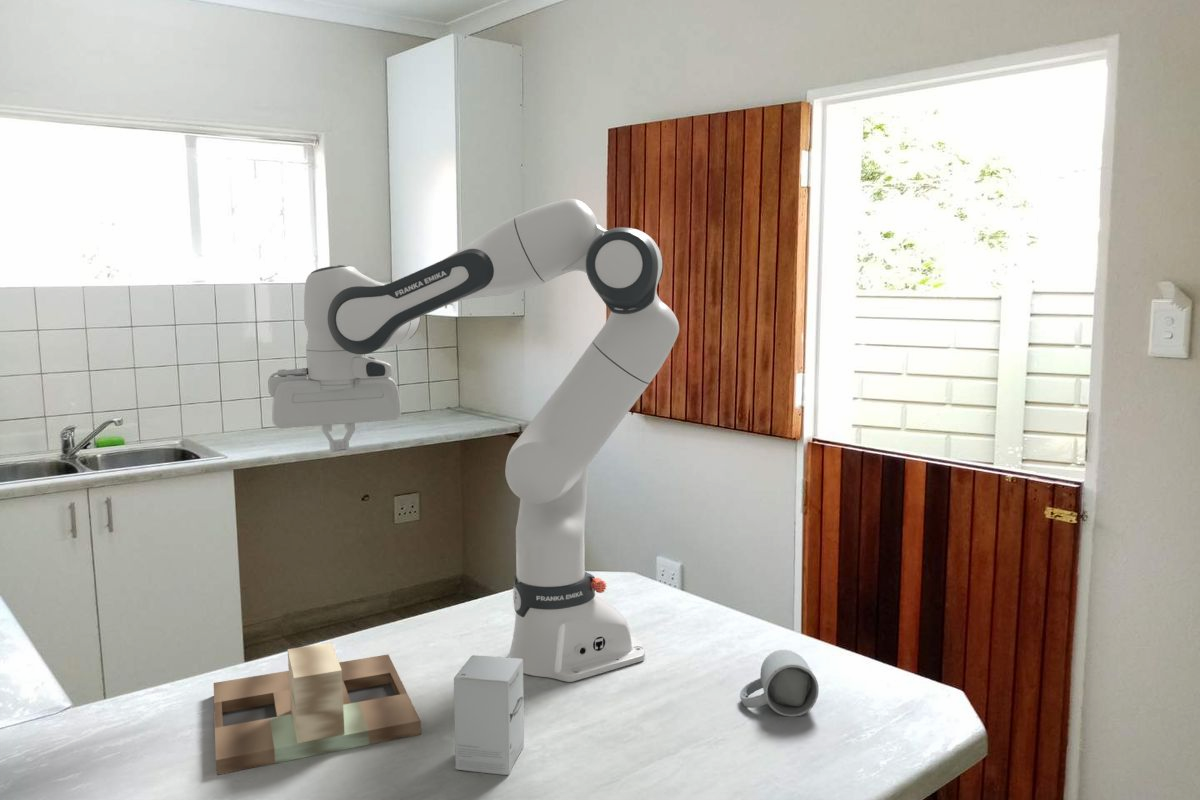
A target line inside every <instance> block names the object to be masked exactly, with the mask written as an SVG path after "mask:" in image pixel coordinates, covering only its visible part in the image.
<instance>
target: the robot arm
mask: <svg viewBox="0 0 1200 800" xmlns="http://www.w3.org/2000/svg"><path fill="white" fill-rule="evenodd" d="M663 258H664V257H663V255H662V252H661V249H660V248H659V246H658V244H657V243H656V242H655V240H654V239H653V238H652V237H651V236H650V235H648V234H647V233H645V232H644V231H642V230H640V229H637V228H633V227H632V228H631V227H621V226H620V227H619V226H618V227H613V228H610V229H605V228H604V227H603V226H601V224H600V223H599V221H598V219H597V217H596V215H595V213H594V212H593V211H592V209H591V208H590V207H589V206H588V205H587V204H586V203H584V202H583V201H582V200H579V199H577V198H565V199H561V200H557V201H553V202H550V203H546V204H543V205H540V206H537V207H534V208H532V209H529V210H527V211H525V212H522V213H520V214H517V215H515V216H512V217H511V218H509V219H507V220H505V221H503V222H501V223H500V224H498V225H496V226H495V227H493V228H491V229H489V230H488V231H486V232H485V233H483V234H481V235H480V236H478V237H477V238H476V239H474V240H472V241H471V242H470V243H468V244H467V245H465V246H463V247H461V248H460V249H459V250H456V251H455V252H454V253H452V254H451V255H449V256H447V257H445V258H444V259H442V260H439V261H437V262H436V263H435V262H434V263H433V264H430V265H428V266H426V267H424V268H422V269H419V270H417V271H414V272H413V273H410V274H408V275H405V276H403V277H401V278H399V279H396V280H394V281H392V282H391V281H390V282H389V283H383V282H380V281H378V280H375V279H373V278H371V277H369V276H367V275H365V274H363V273H362V272H360V271H359V270H358V269H357V268H356V267H354V266H353V265H349V264H339V265H334V266H333V265H332V266H330V265H329V266H326V267H321V268H318V269H317V268H316V269H315V270H313V271H311V272H310V273H309V274H308V275H307V277H306V280H305V284H304V294H303V295H304V296H303V315H304V316H303V317H304V318H303V319H304V320H303V321H304V325H305V329H306V330H307V331H306V332H307V341H306V347H305V356H306V367H305V368H304V367H303V368H293V369H285V368H284V369H278V370H277V371H276V372H274V373H272V374H271V375H270V376H269V378H268V380H267V384H268V385H267V387H268V393H269V395H270V396H271V398H272V405H271V409H272V410H271V418H272V419H271V420H272V424H273V425H274V426H275V427H276V428H278V429H289V428H303V427H317V426H318V427H319V426H321V431H322V432H323V434H324V436H325V437H326V438H327V440H328V442H329V443H328V444H329V451H330V452H331V453H335V452H337V453H338V452H349V451H350V440H351V438H352V437H353V435H354V433H355V431H356V424H361V423H373V422H375V423H376V422H389V421H391V422H392V421H398V419H399V418H400V417H401V415H402V406H401V405H402V404H401V397H400V392H399V387H398V384H397V383H396V381H395V380H394V379H393V378H391V376H392V374H393V367H392V365H391V364H390V363H389V362H387V361H384V360H380V359H376V358H375V357H373V356H364V355H367V354H371V353H374V352H376V351H378V350H382V349H386V348H390V347H393V346H398V345H401V344H403V343H405V342H407V341H409V339H411V338H412V337H414V335H416V332H417V331H418V329H419V328H420V324H421V317H423V316H426V315H428V314H430V313H432V312H434V311H436V310H440V309H441V308H444V307H446V306H448V305H451V304H454V303H457V302H460V301H465V300H470V299H477V298H479V299H480V298H487V297H488V298H489V297H499V296H501V297H502V296H507V295H512V294H515V293H519V292H523V291H526V290H529V289H533V288H535V287H537V286H540V285H543V284H544V283H546V282H549V281H552V280H554V279H556V278H558V277H560V276H562V275H564V274H567V273H571V272H575V271H576V272H577V271H579V272H583V273H586V275H587V279H588V281H589V283H590V285H591V286H592V288H593V289H594V291H595V292H596V293H597V295H598V296H599V297H600V298H601V300H602V301H603V302H604V304H605V306H607V308H608V310H609V311H610V312H609V316H608V318H607V320H606V322H605V323H604V325H603V327H602V328H601V329H600V331H599V332H598V333H597V335H596V336H595V337H594V339H592V341H591V343H590V344H589V345H588V347H587V348H586V349H585V351H584V352H583V354H581V357H580V358H579V359H578V361H576V363H575V364H574V366H573V367H572V369H571V370H570V371H569V372H568V374H567V376H566V377H565V378H564V379H563V380H562V382H561V384H560V385H559V386H557V388H556V389H555V391H554V392H553V393H552V395H551V396H550V397H549V398H548V400H547V401H546V402H544V405H543V406H542V407H541V408H540V410H538V412H537V413H536V415H535V416H534V417H533V419H532V420H531V421H530V423H529V424H528V425H527V426H526V428H524V430H523V432H522V433H521V434H520V436H519V437H518V438H517V440H516V441H515V442H514V444H513V445H512V446H511V448H510V450H509V451H508V455H507V458H506V463H505V468H504V469H505V471H504V472H505V479H506V482H507V485H508V487H509V488H510V490H511V492H512V493H513V494H514V495H515V496H517V497H518V498H519V499H520V500H519V508H518V515H517V522H516V526H515V554H516V555H515V556H516V558H515V560H516V561H515V562H516V563H515V564H516V565H515V567H516V573H515V575H514V577H513V588H512V595H513V597H512V600H513V607H514V612H515V615H514V616H515V618H514V619H515V620H514V627H513V634H512V640H511V645H510V649H509V653H508V655H507V658H518V659H523V674H526V675H528V676H529V675H530V676H533V677H541V678H542V677H543V678H552V679H556V680H559V681H561V682H562V681H563V682H568V683H569V682H570V683H572V682H577V681H579V680H583V679H587V678H590V677H592V676H593V677H594V676H596V675H597V676H598V675H600V674H603V673H606V672H609V671H613V670H617V669H620V668H623V667H626V666H629V665H633V664H636V663H640V662H642V661H645V657H646V654H645V648H644V645H643V644H642V643H641V641H639V639H638V638H636V637H635V636H634V635H632V634H631V629H630V626H629V623H628V620H627V618H626V617H625V615H624V614H623V613H622V612H621V610H620V609H618V608H616V607H615V606H614V605H613V604H611V603H609V602H608V601H607V600H605V599H604V598H602V597H601V596H600V595H598V594H602V593H604V592H605V590H606V589H607V583H606V582H605V581H604V580H602V579H601V578H599V577H595V576H594V575H593V574H591V573H590V572H588V571H586V568H585V564H586V563H585V554H586V553H585V547H586V546H585V527H586V512H587V502H588V501H587V499H588V486H589V485H588V484H589V469H590V468H589V465H590V463H592V461H593V460H594V458H595V457H596V455H598V453H599V451H600V450H601V449H602V447H603V446H604V444H605V443H607V441H608V439H609V438H610V437H611V435H612V434H613V432H614V431H615V430H616V429H617V427H618V426H619V425H620V423H621V422H622V421H623V419H624V418H625V417H626V415H628V413H629V412H630V410H631V409H632V408H633V406H634V405H635V403H636V402H637V401H638V399H639V398H640V397H641V395H642V394H643V393H644V392H645V390H646V389H647V388H648V386H649V385H650V384H651V382H653V380H654V378H655V377H656V376H657V374H658V372H659V371H660V369H661V368H662V366H663V365H664V363H665V361H666V359H667V358H668V357H669V354H670V353H671V351H672V349H673V347H674V345H675V342H676V341H677V339H678V336H679V334H680V323H679V321H678V318H677V316H676V315H675V314H676V313H674V311H673V310H672V309H671V308H670V307H669V306H668V305H667V304H666V303H665V302H663V301H662V299H660V297H659V295H658V291H657V289H658V284H659V283H660V281H661V279H662V275H663V273H664V272H663V271H664V259H663ZM333 425H344V428H345V430H346V432H345V433H344V434H345V435H343V436H344V437H343V438H340V439H339V438H338V439H334V438H333V437H332V435H331V434H330V432H332V431H333ZM596 592H597V593H598V594H596Z"/></svg>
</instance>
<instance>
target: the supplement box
mask: <svg viewBox="0 0 1200 800" xmlns="http://www.w3.org/2000/svg"><path fill="white" fill-rule="evenodd" d="M453 697H454V699H453V701H454V702H453V704H454V706H453V707H454V709H453V710H454V742H455V743H454V752H455V759H454V760H455V770H459V771H466V772H475V773H482V774H492V775H500V776H509V775H510V773H511V771H512V768H513V766H514V764H515V762H516V761H517V759H518V757H519V756H520V753H521V752H522V751H523V749H524V747H525V736H524V735H525V728H524V727H525V725H524V724H525V722H524V721H525V719H524V716H525V711H524V708H525V707H524V706H525V705H524V703H525V702H524V673H523V659H518V658H508V657H503V656H491V655H474V654H473V655H471V656H470V657H469V659H468V660H467V661H466V662H465V663H464V665H463V666H461V669H460V670H459V671H458V672H457V673H456V675H455V676H453Z"/></svg>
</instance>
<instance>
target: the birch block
mask: <svg viewBox="0 0 1200 800" xmlns="http://www.w3.org/2000/svg"><path fill="white" fill-rule="evenodd" d="M287 664H288V671H289V685H290V704H291V714H292V719H293V724H294V729H295V734H296V739H297V743H302V742H307V741H313V740H318V739H323V738H328V737H333V736H339V735H344V711H343V688H342V670H341V667H340V664H339V659H338V655H337V653H336V650H335V647H334V644H333V642H327V643H319V644H313V645H307V646H301V647H300V646H299V647H294V648H288V649H287Z"/></svg>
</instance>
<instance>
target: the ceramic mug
mask: <svg viewBox="0 0 1200 800" xmlns="http://www.w3.org/2000/svg"><path fill="white" fill-rule="evenodd" d="M760 667H761V668H760V677H759V678H757V679H755V680H753V681H751V682H749V683H748V684H747V683H746V685H744V687H742V689H741V690H740V692H739V697H740V700H741V702H742V705H743V706H744V707H746V708H749V709H753V708H754V709H755V708H759V707H762V706H765V705H768V706H769V707H770V708H771V710H772V711H774V712H775V713H776V714H778V715H780V716H784V717H791V718H792V717H793V718H794V717H795V718H796V717H800V716H802V715H804V714H807V713H808V712H809V711H810V710H811V709H813V707H814V706H815V704H816V702H817V701H818V697H819V683H818V680H817V677H816V675H815V674H814V673H813V671H812V669H811V667H810V666H809V665H808V663H807V661H806V660H805V659H804V658H803V656H801V655H799V653H796V652H795V651H793V650H789V649H777V650H775V651H773V652H771V653H770V654H768V655H767V656H766V657H765V659H764V660H763V662H762V664H761V666H760ZM761 689H762V690H763V693H761V694H759V695H756V696H751V697H749V696H750V695H751V694H754V693H756V692H757V691H759V690H761Z"/></svg>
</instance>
